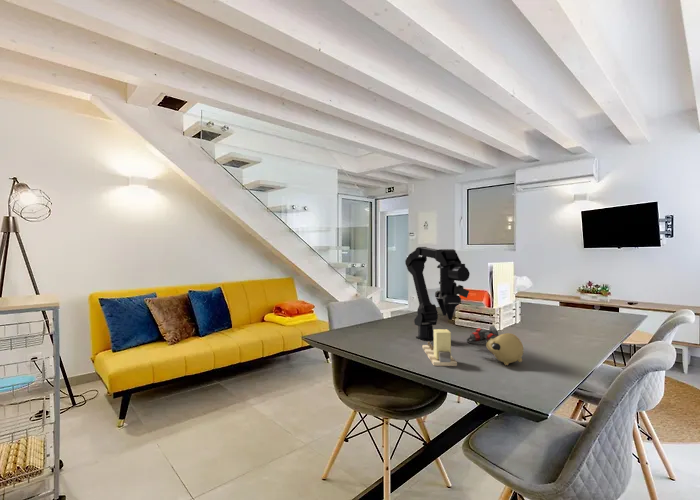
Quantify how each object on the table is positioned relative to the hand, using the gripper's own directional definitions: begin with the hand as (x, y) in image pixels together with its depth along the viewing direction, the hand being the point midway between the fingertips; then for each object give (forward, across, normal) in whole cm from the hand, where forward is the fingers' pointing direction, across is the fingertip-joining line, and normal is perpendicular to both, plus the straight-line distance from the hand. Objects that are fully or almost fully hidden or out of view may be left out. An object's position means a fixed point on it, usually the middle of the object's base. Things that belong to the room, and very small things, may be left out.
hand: (447, 317), depth 140 cm
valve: (+13, +6, -18) cm, 23 cm away
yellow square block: (+11, -17, +6) cm, 22 cm away
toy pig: (+13, -19, -16) cm, 27 cm away
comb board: (+12, -11, +6) cm, 18 cm away
